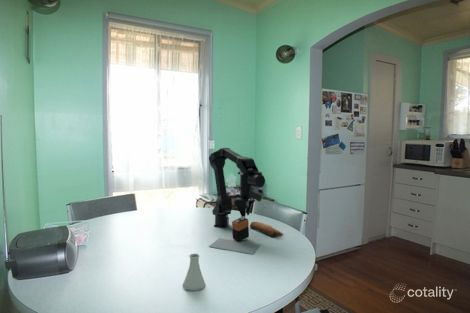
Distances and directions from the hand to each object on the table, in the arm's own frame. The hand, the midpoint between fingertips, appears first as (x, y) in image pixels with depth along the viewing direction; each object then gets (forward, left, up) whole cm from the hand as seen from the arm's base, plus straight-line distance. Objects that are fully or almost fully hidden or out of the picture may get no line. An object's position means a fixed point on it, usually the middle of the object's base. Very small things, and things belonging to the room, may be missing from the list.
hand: (245, 216), depth 139 cm
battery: (0, -6, -9) cm, 11 cm away
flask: (0, -51, -10) cm, 52 cm away
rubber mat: (0, -14, -10) cm, 17 cm away
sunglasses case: (+8, +11, -10) cm, 17 cm away
